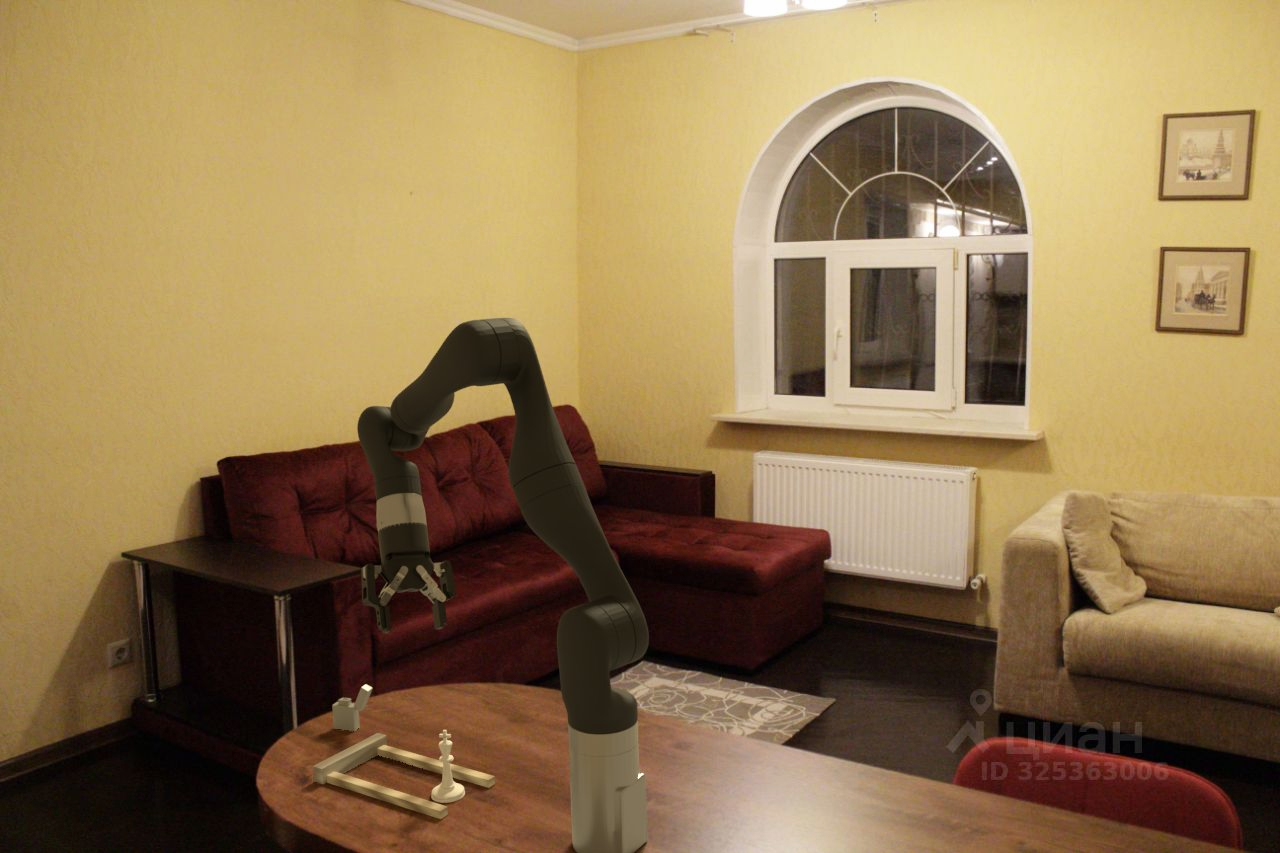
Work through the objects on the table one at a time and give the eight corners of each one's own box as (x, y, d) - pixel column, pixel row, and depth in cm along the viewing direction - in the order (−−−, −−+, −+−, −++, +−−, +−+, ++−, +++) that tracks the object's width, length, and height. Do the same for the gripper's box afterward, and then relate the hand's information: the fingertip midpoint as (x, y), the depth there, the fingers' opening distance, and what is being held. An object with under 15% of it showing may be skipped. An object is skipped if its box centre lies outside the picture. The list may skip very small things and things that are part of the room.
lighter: (333, 729, 179) (330, 684, 178) (339, 725, 181) (335, 680, 180) (370, 733, 177) (367, 687, 176) (375, 729, 179) (372, 684, 178)
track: (498, 781, 158) (497, 766, 158) (437, 821, 147) (436, 804, 147) (378, 747, 171) (377, 732, 171) (313, 781, 160) (312, 766, 160)
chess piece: (457, 804, 152) (454, 738, 151) (425, 801, 153) (422, 736, 152) (470, 788, 157) (466, 724, 155) (438, 785, 158) (435, 722, 156)
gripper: (366, 521, 157) (377, 629, 152) (454, 519, 165) (467, 621, 160) (349, 535, 163) (359, 639, 158) (435, 532, 171) (447, 631, 166)
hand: (413, 630), depth 159 cm, fingers open, 8 cm apart
